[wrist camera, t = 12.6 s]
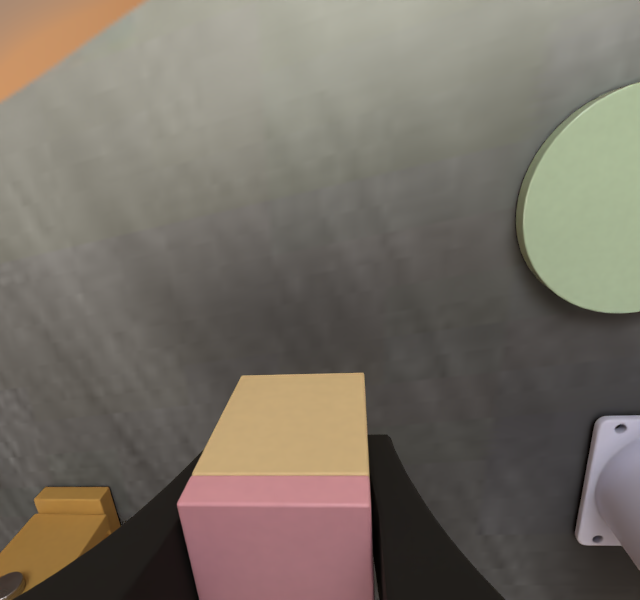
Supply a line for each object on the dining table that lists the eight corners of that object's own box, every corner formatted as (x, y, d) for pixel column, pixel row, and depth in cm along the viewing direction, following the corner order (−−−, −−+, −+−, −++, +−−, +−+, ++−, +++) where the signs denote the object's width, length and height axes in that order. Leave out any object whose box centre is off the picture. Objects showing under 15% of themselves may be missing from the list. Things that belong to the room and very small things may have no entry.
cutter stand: (112, 486, 24) (15, 621, 17) (138, 573, 26) (62, 723, 19) (41, 486, 24) (-82, 618, 17) (73, 572, 26) (-25, 718, 19)
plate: (784, 69, 15) (808, 64, 14) (721, 303, 18) (737, 309, 17) (526, 91, 16) (534, 87, 15) (506, 311, 18) (513, 317, 18)
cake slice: (364, 371, 12) (371, 505, 8) (368, 487, 14) (376, 659, 9) (241, 374, 13) (174, 504, 8) (258, 486, 14) (210, 653, 9)
